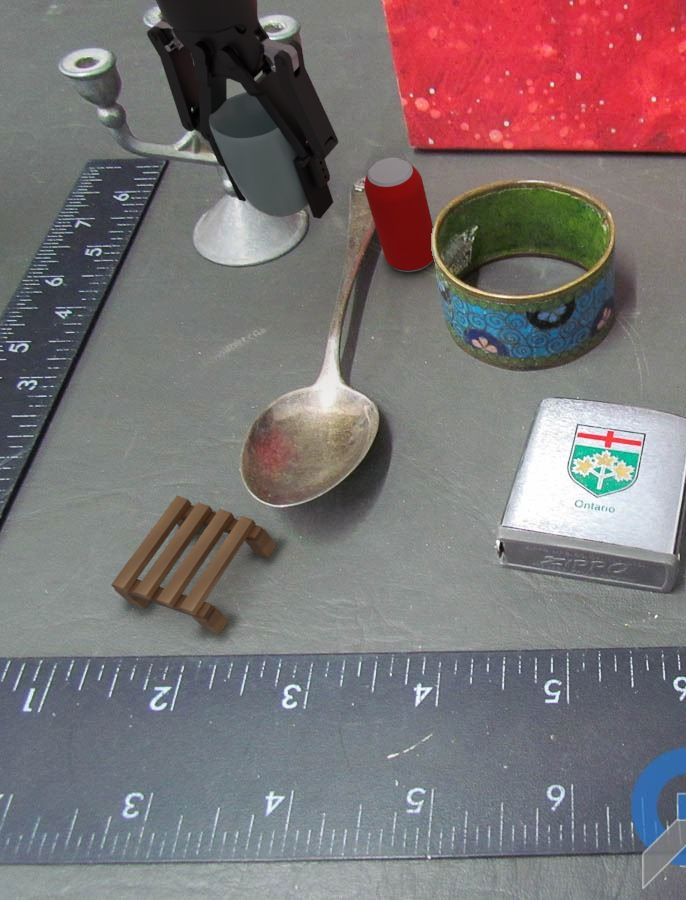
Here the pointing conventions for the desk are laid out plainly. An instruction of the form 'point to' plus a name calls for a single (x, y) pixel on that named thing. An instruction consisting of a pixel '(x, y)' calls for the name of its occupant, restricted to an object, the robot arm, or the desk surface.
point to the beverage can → (400, 213)
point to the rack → (189, 560)
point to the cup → (258, 156)
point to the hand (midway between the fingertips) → (285, 200)
